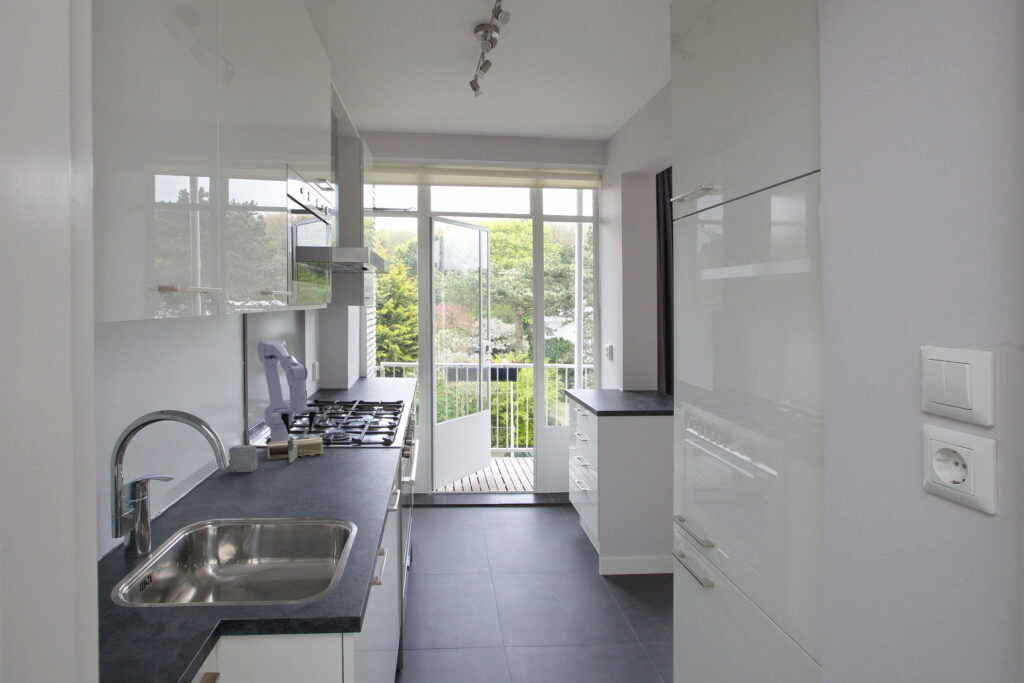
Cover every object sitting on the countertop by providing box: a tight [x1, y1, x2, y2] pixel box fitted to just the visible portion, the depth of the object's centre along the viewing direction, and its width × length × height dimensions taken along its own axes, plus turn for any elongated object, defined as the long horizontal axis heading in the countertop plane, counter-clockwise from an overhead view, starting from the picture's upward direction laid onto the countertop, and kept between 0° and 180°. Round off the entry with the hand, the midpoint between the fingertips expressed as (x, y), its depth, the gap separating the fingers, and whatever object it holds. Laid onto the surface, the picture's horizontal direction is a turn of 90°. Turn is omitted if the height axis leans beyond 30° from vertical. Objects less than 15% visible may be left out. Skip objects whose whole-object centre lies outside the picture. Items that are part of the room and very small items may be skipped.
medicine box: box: [228, 444, 259, 473], centre depth 217 cm, size 8×4×9 cm, turn 84°
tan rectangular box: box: [266, 437, 324, 461], centre depth 239 cm, size 8×20×5 cm, turn 108°
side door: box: [287, 438, 299, 464], centre depth 230 cm, size 1×10×8 cm, turn 5°
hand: (299, 432), depth 235 cm, fingers open, 7 cm apart
